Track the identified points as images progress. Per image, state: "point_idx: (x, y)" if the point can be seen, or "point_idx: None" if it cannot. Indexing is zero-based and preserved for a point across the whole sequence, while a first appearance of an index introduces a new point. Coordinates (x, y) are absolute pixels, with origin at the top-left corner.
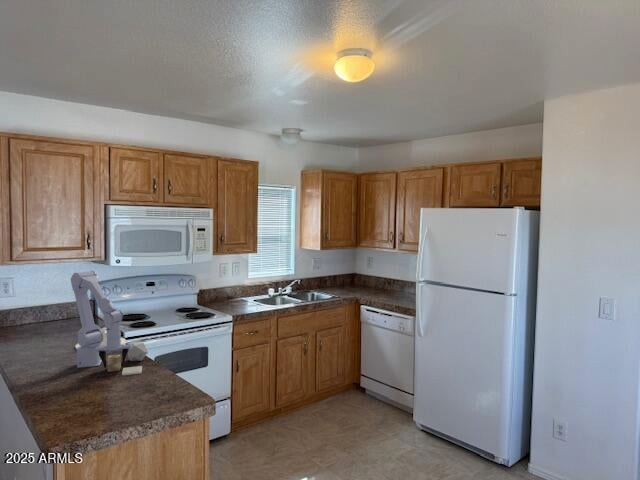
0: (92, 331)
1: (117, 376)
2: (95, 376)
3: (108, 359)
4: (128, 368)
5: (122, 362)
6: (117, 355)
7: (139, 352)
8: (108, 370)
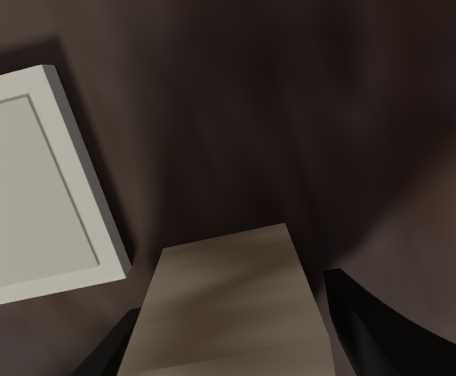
0: None
1: (98, 37)
2: (386, 69)
3: (305, 328)
4: (50, 250)
5: (121, 334)
6: None
7: None
8: (278, 231)
